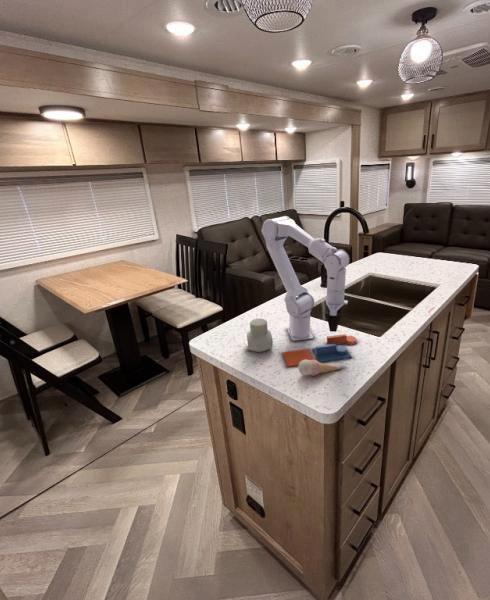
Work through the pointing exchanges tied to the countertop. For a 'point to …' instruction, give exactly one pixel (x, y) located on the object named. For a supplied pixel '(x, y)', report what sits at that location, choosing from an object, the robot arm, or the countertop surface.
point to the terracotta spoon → (341, 339)
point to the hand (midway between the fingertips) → (334, 325)
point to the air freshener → (259, 336)
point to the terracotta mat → (297, 357)
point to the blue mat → (332, 356)
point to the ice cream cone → (314, 367)
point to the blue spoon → (330, 349)
